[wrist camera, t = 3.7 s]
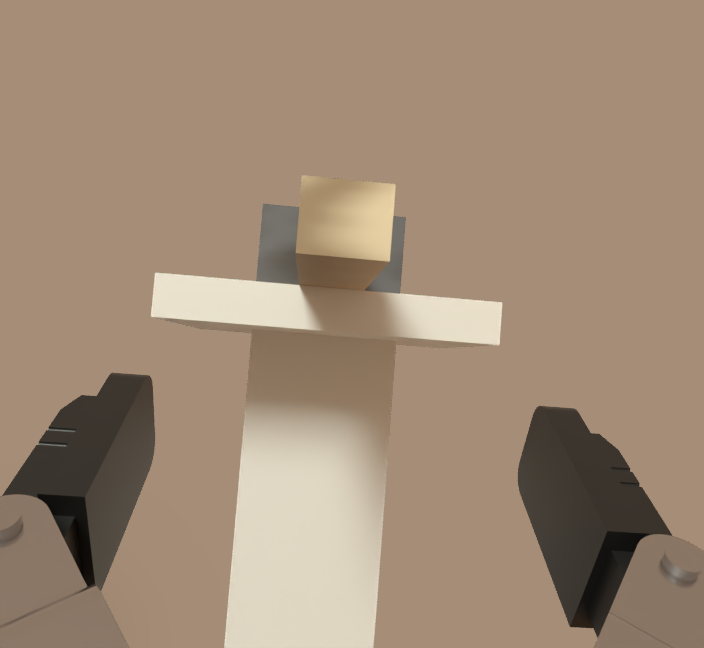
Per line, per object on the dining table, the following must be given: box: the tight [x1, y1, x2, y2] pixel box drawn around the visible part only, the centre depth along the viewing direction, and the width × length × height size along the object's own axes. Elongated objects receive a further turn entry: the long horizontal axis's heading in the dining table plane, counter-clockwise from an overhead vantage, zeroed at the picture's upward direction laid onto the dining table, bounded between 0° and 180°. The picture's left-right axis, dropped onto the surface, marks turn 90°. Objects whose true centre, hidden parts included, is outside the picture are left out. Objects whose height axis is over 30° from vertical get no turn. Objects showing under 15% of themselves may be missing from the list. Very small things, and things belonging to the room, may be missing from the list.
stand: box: [151, 273, 502, 648], centre depth 34 cm, size 16×13×32 cm
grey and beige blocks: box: [256, 175, 406, 294], centre depth 30 cm, size 8×21×5 cm, turn 4°
